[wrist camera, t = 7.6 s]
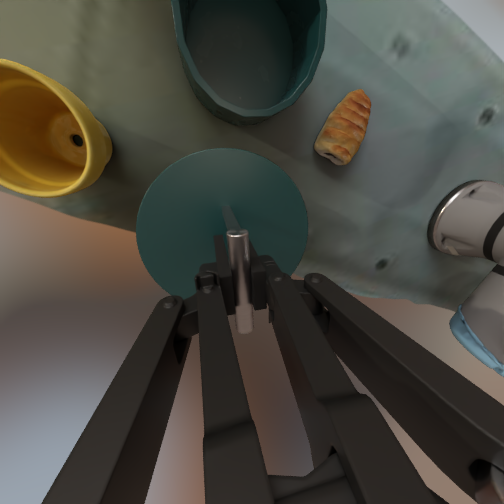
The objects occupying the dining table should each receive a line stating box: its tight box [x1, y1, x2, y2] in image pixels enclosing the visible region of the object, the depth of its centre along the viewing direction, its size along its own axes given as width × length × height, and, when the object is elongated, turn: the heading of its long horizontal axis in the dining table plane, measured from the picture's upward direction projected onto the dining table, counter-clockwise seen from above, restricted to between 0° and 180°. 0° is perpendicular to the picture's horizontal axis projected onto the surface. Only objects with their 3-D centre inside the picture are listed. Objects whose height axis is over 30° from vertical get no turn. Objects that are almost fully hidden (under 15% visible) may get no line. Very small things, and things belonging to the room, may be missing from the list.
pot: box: [171, 0, 327, 125], centre depth 23 cm, size 14×14×8 cm
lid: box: [136, 148, 308, 334], centre depth 16 cm, size 15×15×9 cm
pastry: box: [314, 89, 371, 165], centre depth 30 cm, size 9×7×4 cm
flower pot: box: [0, 59, 112, 198], centre depth 22 cm, size 10×10×10 cm
